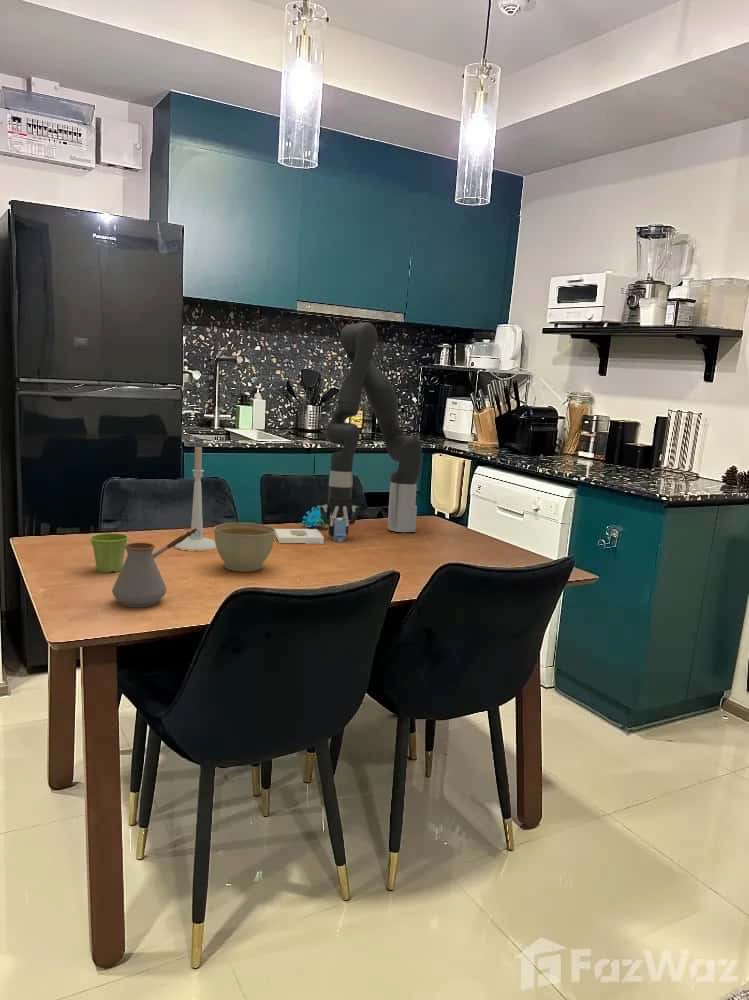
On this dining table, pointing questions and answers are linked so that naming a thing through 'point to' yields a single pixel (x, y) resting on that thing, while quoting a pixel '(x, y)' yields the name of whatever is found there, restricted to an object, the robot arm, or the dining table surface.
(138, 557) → the coffee pot
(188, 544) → the candlestick
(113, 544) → the plant pot
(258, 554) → the planter bowl
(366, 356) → the robot arm
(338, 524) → the servo
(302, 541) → the chassis board
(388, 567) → the dining table surface
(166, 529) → the dining table surface
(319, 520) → the blue coral
